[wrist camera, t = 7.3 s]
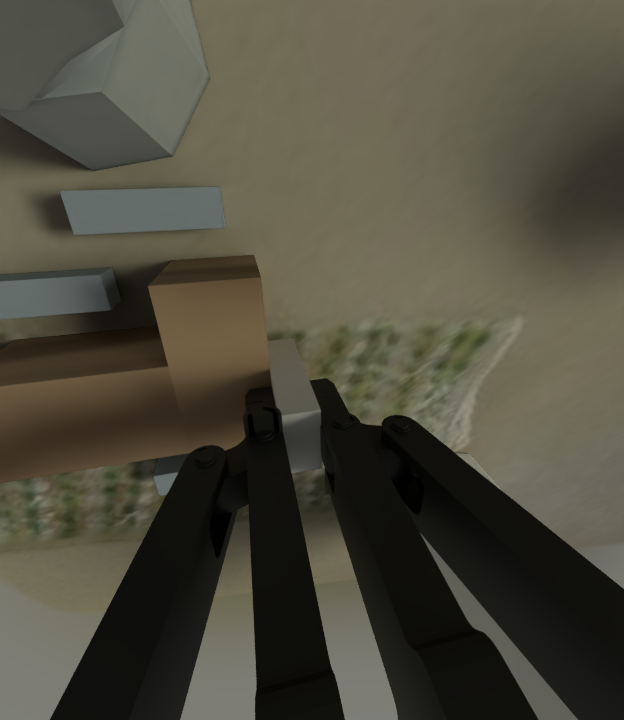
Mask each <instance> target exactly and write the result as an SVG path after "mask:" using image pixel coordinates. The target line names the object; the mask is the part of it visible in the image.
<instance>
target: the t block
mask: <svg viewBox="0 0 624 720" xmlns="http://www.w3.org/2000/svg"><path fill="white" fill-rule="evenodd" d="M148 289H149V293H150V297H151V300H152V304H153V308H154V312H155V316H156V320H157V324H158V326H155V327H144V328H134V329H124V330H113V331H103V332H93V333H83V334H72V335H62V336H52V337H41V338H31V339H21V340H14V341H12V342H11V343H9V344H8V345H6V346H5V347H4V348H2V349H1V350H0V483H4V482H11V481H17V480H23V479H29V478H36V477H42V476H48V475H55V474H61V473H67V472H73V471H80V470H86V469H92V468H99V467H105V466H111V465H117V464H124V463H130V462H136V461H143V460H149V459H155V458H161V457H168V456H174V455H180V454H187V453H191V452H192V451H194V450H195V449H197V448H200V447H202V446H207V445H216V446H220V447H221V448H223V449H224V450H228V449H230V448H232V447H235V446H237V445H238V444H239V443H241V442H242V441H243V440H244V438H245V430H244V424H243V416H244V414H245V413H246V408H245V395H246V394H247V392H248V391H249V389H256V388H263V387H271V386H272V385H271V375H270V364H269V354H268V344H267V334H266V324H265V314H264V304H263V294H262V284H261V276H260V273H259V270H258V267H257V263H256V260H255V257H254V255H249V256H234V257H219V258H204V259H189V260H174V261H170V262H169V263H168V265H167V266H166V267H165V268H164V269H163V270H162V271H161V272H160V273H159V274H158V276H157V277H156V278H155V279H154V280H153V281H152V282H151V283H150V284H149V285H148Z"/></svg>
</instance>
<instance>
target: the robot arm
mask: <svg viewBox="0 0 624 720" xmlns="http://www.w3.org/2000/svg"><path fill="white" fill-rule="evenodd" d="M267 344H268V354H269V364H270V375H271V385H272V386H271V387H263V388H256V389H249V391H248V392H247V394H246V395H245V408H246V413H245V414H244V416H243V424H244V430H245V438H244V440H243V441H242V442H241V443H239V444H238V445H237V446H235V447H232V448H230V449H228V450H224V449H223V448H221V447H220V446H216V445H207V446H202V447H200V448H197V449H195V450H194V451H192V452H191V453H190V454H189V455H188V456H187V457H186V459H185V461H184V463H183V465H182V466H181V468H180V470H179V472H178V474H177V476H176V478H175V480H174V482H173V484H172V486H171V488H170V490H169V492H168V493H167V495H166V497H165V499H164V501H163V503H162V505H161V507H160V509H159V511H158V513H157V515H156V517H155V518H154V520H153V522H152V524H151V526H150V528H149V530H148V532H147V534H146V536H145V538H144V540H143V542H142V543H141V545H140V547H139V549H138V551H137V553H136V555H135V557H134V559H133V561H132V563H131V565H130V567H129V568H128V570H127V572H126V574H125V576H124V578H123V580H122V582H121V584H120V586H119V588H118V590H117V592H116V594H115V595H114V597H113V599H112V601H111V603H110V605H109V607H108V609H107V611H106V613H105V615H104V617H103V619H102V620H101V622H100V624H99V626H98V628H97V630H96V632H95V634H94V636H93V638H92V640H91V642H90V644H89V646H88V648H87V649H86V651H85V653H84V655H83V657H82V659H81V661H80V663H79V665H78V667H77V669H76V670H75V672H74V674H73V676H72V678H71V680H70V682H69V684H68V686H67V688H66V690H65V692H64V694H63V696H62V697H61V699H60V701H59V704H58V705H57V707H56V709H55V711H54V713H53V715H52V717H51V719H50V720H180V718H181V714H182V711H183V707H184V703H185V700H186V696H187V693H188V689H189V685H190V682H191V678H192V674H193V671H194V667H195V663H196V660H197V656H198V653H199V649H200V645H201V642H202V638H203V634H204V631H205V627H206V623H207V620H208V616H209V612H210V609H211V605H212V601H213V598H214V594H215V591H216V587H217V583H218V580H219V576H220V572H221V569H222V565H223V562H224V558H225V554H226V551H227V547H228V543H229V540H230V536H231V532H232V529H233V525H234V521H235V518H236V513H237V510H238V509H240V508H242V507H244V506H246V505H248V504H249V523H250V545H251V567H252V589H253V610H254V632H255V655H256V677H257V690H256V696H255V720H345V719H344V714H343V709H342V704H341V699H340V695H339V690H338V686H337V682H336V679H335V675H334V673H333V670H332V668H331V664H330V661H329V656H328V651H327V646H326V641H325V636H324V631H323V626H322V621H321V616H320V611H319V606H318V602H317V597H316V592H315V588H314V582H313V577H312V572H311V567H310V562H309V557H308V552H307V547H306V542H305V537H304V532H303V528H302V523H301V518H300V513H299V508H298V503H297V498H296V493H295V488H294V483H293V478H292V473H297V472H303V471H309V470H315V469H320V468H322V460H323V463H324V466H325V493H328V489H329V492H330V495H331V499H332V502H333V505H334V508H335V511H336V514H337V518H338V521H339V524H340V527H341V530H342V534H343V537H344V540H345V543H346V546H347V550H348V553H349V556H350V559H351V562H352V566H353V569H354V572H355V575H356V578H357V582H358V585H359V588H360V591H361V594H362V597H363V601H364V604H365V607H366V610H367V613H368V617H369V620H370V623H371V626H372V629H373V633H374V635H375V639H376V642H377V645H378V649H379V652H380V655H381V658H382V662H383V664H384V668H385V671H386V674H387V678H388V681H389V684H390V687H391V690H392V693H393V697H394V700H395V704H396V709H397V714H398V720H538V718H537V716H536V714H535V713H534V711H533V709H532V707H531V706H530V704H529V702H528V700H527V699H526V697H525V695H524V693H523V692H522V690H521V688H520V686H519V685H518V683H517V681H516V679H515V678H514V676H513V674H512V673H511V671H510V669H509V667H508V666H507V664H506V662H505V660H504V659H503V657H502V655H501V653H500V652H499V650H498V649H497V647H496V646H495V644H494V643H493V641H492V640H491V639H490V638H489V637H488V636H487V635H486V634H485V633H484V632H482V631H479V630H477V629H474V628H473V627H472V626H471V625H470V623H469V622H468V620H467V618H466V617H465V615H464V613H463V611H462V609H461V608H460V606H459V604H458V602H457V600H456V598H455V597H454V595H453V593H452V591H451V589H450V587H449V585H448V584H447V582H446V580H445V578H444V576H443V574H442V573H441V571H440V569H439V567H438V565H437V563H436V561H435V560H434V558H433V556H432V554H431V552H430V550H429V549H428V547H427V545H426V543H425V541H424V539H423V537H424V538H425V539H426V540H427V542H428V543H429V544H430V545H431V546H432V547H433V549H434V550H435V551H436V552H437V553H438V555H439V556H440V557H441V558H442V559H443V560H444V562H445V563H446V564H447V565H448V566H449V568H450V569H451V570H452V571H453V572H454V574H455V575H456V576H457V577H458V578H459V579H460V581H461V582H462V583H463V584H464V585H465V587H466V588H467V589H468V590H469V591H470V592H471V594H472V595H473V596H474V597H475V598H476V600H477V601H478V602H479V603H480V604H481V606H482V607H483V608H484V609H485V610H486V611H487V613H488V614H489V615H490V616H491V617H492V619H493V620H494V621H495V622H496V623H497V624H498V626H499V627H500V628H501V629H502V630H503V632H504V633H505V634H506V635H507V636H508V638H509V639H510V640H511V641H512V642H513V643H514V645H515V646H516V647H517V648H518V649H519V651H520V652H521V653H522V654H523V655H524V657H525V658H526V659H527V660H528V661H529V662H530V664H531V665H532V666H533V667H534V668H535V670H536V671H537V672H538V673H539V674H540V675H541V677H542V678H543V679H544V680H545V681H546V683H547V684H548V685H549V686H550V687H551V689H552V690H553V691H554V692H555V693H556V694H557V696H558V697H559V698H560V699H561V700H562V702H563V703H564V704H565V705H566V706H567V707H568V709H569V710H570V711H571V712H572V713H573V714H574V716H575V717H576V718H577V719H578V720H624V589H623V588H622V587H620V586H619V585H618V584H617V583H615V582H614V581H613V580H612V579H611V578H609V577H608V576H607V575H606V574H604V573H603V572H602V571H601V570H599V569H598V568H597V567H596V566H594V565H593V564H592V563H591V562H589V561H588V560H587V559H586V558H585V557H583V556H582V555H581V554H580V553H578V552H577V551H576V550H575V549H573V548H572V547H571V546H570V545H568V544H567V543H566V542H565V541H563V540H562V539H561V538H560V537H558V536H557V535H556V534H555V533H554V532H552V531H551V530H550V529H549V528H547V527H546V526H545V525H544V524H542V523H541V522H540V521H539V520H537V519H536V518H535V517H534V516H532V515H531V514H530V513H529V512H527V511H526V510H525V509H524V508H523V507H521V506H520V505H519V504H518V503H516V502H515V501H514V500H513V499H511V498H510V497H509V496H508V495H506V494H505V493H504V492H503V491H501V490H500V489H499V488H498V487H496V486H495V485H494V484H493V483H491V482H490V481H489V480H488V479H487V478H485V477H484V476H483V475H482V474H480V473H479V472H478V471H477V470H475V469H474V468H473V467H472V466H470V465H469V464H468V463H467V462H465V461H464V460H463V459H462V458H460V457H459V456H458V455H457V454H456V453H454V452H453V451H452V450H451V449H449V448H448V447H447V446H446V445H444V444H443V443H442V442H441V441H439V440H438V439H437V438H436V437H434V436H433V435H432V434H431V433H429V432H428V431H427V430H426V429H425V428H423V427H422V426H421V425H420V424H418V423H417V422H416V421H414V420H413V419H411V418H409V417H406V416H402V415H393V416H389V417H387V418H385V419H384V420H383V422H382V426H376V425H366V424H362V423H360V421H359V419H358V418H357V417H356V416H354V415H352V414H350V413H349V412H348V410H347V408H346V406H345V404H344V402H343V400H342V398H341V397H340V395H339V393H338V391H337V389H336V387H335V385H334V383H332V382H331V381H329V380H328V379H327V378H326V379H318V380H310V381H309V379H308V376H307V373H306V371H305V368H304V366H303V363H302V361H301V358H300V356H299V353H298V351H297V348H296V346H295V343H294V340H293V338H292V339H283V340H273V341H267ZM420 533H421V534H422V536H423V537H422V536H421V534H420Z"/></svg>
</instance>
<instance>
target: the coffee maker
mask: <svg viewBox="0 0 624 720" xmlns="http://www.w3.org/2000/svg"><path fill="white" fill-rule="evenodd" d="M209 79H210V77H209V73H208V69H207V65H206V61H205V57H204V53H203V49H202V45H201V41H200V37H199V33H198V29H197V25H196V21H195V17H194V13H193V9H192V5H191V1H190V0H0V115H1V116H3V117H4V118H6V119H8V120H9V121H11V122H13V123H14V124H16V125H18V126H19V127H21V128H23V129H24V130H26V131H28V132H29V133H31V134H33V135H34V136H36V137H37V138H39V139H41V140H42V141H44V142H46V143H47V144H49V145H51V146H52V147H54V148H56V149H57V150H59V151H61V152H62V153H64V154H66V155H67V156H69V157H71V158H72V159H74V160H76V161H77V162H79V163H81V164H82V165H84V166H86V167H87V168H89V169H91V170H92V171H97V170H102V169H108V168H113V167H118V166H124V165H129V164H134V163H140V162H145V161H151V160H156V159H161V158H167V157H172V156H173V155H174V153H175V151H176V149H177V147H178V145H179V143H180V140H181V138H182V136H183V134H184V132H185V130H186V128H187V126H188V124H189V122H190V119H191V117H192V115H193V113H194V111H195V109H196V107H197V105H198V103H199V100H200V98H201V96H202V94H203V92H204V90H205V88H206V86H207V84H208V82H209Z"/></svg>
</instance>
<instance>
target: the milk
mask: <svg viewBox="0 0 624 720" xmlns="http://www.w3.org/2000/svg"><path fill="white" fill-rule="evenodd" d="M456 454H457V455H458V456H459V457H460V458H462V459H463V460H464V461H465V462H467V463H468V464H469V465H470V466H472V467H473V468H474V469H475V470H477V471H478V472H479V473H480V474H482V475H483V476H484V477H485V478H487V479H488V480H489V481H490V482H491V483H493V484H494V485H495V486H496V487H498V486H497V484H496V483H495V482H494V481H493V480H492V479H491V478H490V477H489V475H488V474H487V473H486V472H485V471H484V470H483V469H482V468H481V467H480V465H479V464H478V463H477V462H476V461H475V460H474V459H473V458H472V457H471V455H469V454H463V453H456ZM498 488H499V487H498ZM499 489H500V488H499ZM500 490H501V489H500ZM501 491H502V490H501ZM420 534H421V533H420ZM421 536H422V534H421ZM422 537H423V536H422ZM423 539H424V541H425V543H426V545H427V547H428V549H429V550H430V552H431V554H432V556H433V558H434V560H435V561H436V563H437V565H438V567H439V569H440V571H441V573H442V574H443V576H444V578H445V580H446V582H447V584H448V585H449V587H450V589H451V591H452V593H453V595H454V597H455V598H456V600H457V602H458V604H459V606H460V608H461V609H462V611H463V613H464V615H465V617H466V618H467V620H468V622H469V623H470V625H471V626H472V627H473V628H474V629H477V630H479V631H482V632H484V633H485V634H486V635H487V636H488V637H489V638H490V639H491V640H492V641H493V643H494V644H495V646H496V647H497V649H498V650H499V652H500V653H501V655H502V657H503V659H504V660H505V662H506V664H507V666H508V667H509V669H510V671H511V673H512V674H513V676H514V678H515V679H516V681H517V683H518V685H519V686H520V688H521V690H522V692H523V693H524V695H525V697H526V699H527V700H528V702H529V704H530V706H531V707H532V709H533V711H534V713H535V714H536V716H537V718H538V720H578V719H577V718H576V717H575V716H574V714H573V713H572V712H571V711H570V710H569V709H568V707H567V706H566V705H565V704H564V703H563V702H562V700H561V699H560V698H559V697H558V696H557V694H556V693H555V692H554V691H553V690H552V689H551V687H550V686H549V685H548V684H547V683H546V681H545V680H544V679H543V678H542V677H541V675H540V674H539V673H538V672H537V671H536V670H535V668H534V667H533V666H532V665H531V664H530V662H529V661H528V660H527V659H526V658H525V657H524V655H523V654H522V653H521V652H520V651H519V649H518V648H517V647H516V646H515V645H514V643H513V642H512V641H511V640H510V639H509V638H508V636H507V635H506V634H505V633H504V632H503V630H502V629H501V628H500V627H499V626H498V624H497V623H496V622H495V621H494V620H493V619H492V617H491V616H490V615H489V614H488V613H487V611H486V610H485V609H484V608H483V607H482V606H481V604H480V603H479V602H478V601H477V600H476V598H475V597H474V596H473V595H472V594H471V592H470V591H469V590H468V589H467V588H466V587H465V585H464V584H463V583H462V582H461V581H460V579H459V578H458V577H457V576H456V575H455V574H454V572H453V571H452V570H451V569H450V568H449V566H448V565H447V564H446V563H445V562H444V560H443V559H442V558H441V557H440V556H439V555H438V553H437V552H436V551H435V550H434V549H433V547H432V546H431V545H430V544H429V543H428V542H427V540H426V539H425V538H424V537H423Z"/></svg>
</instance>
